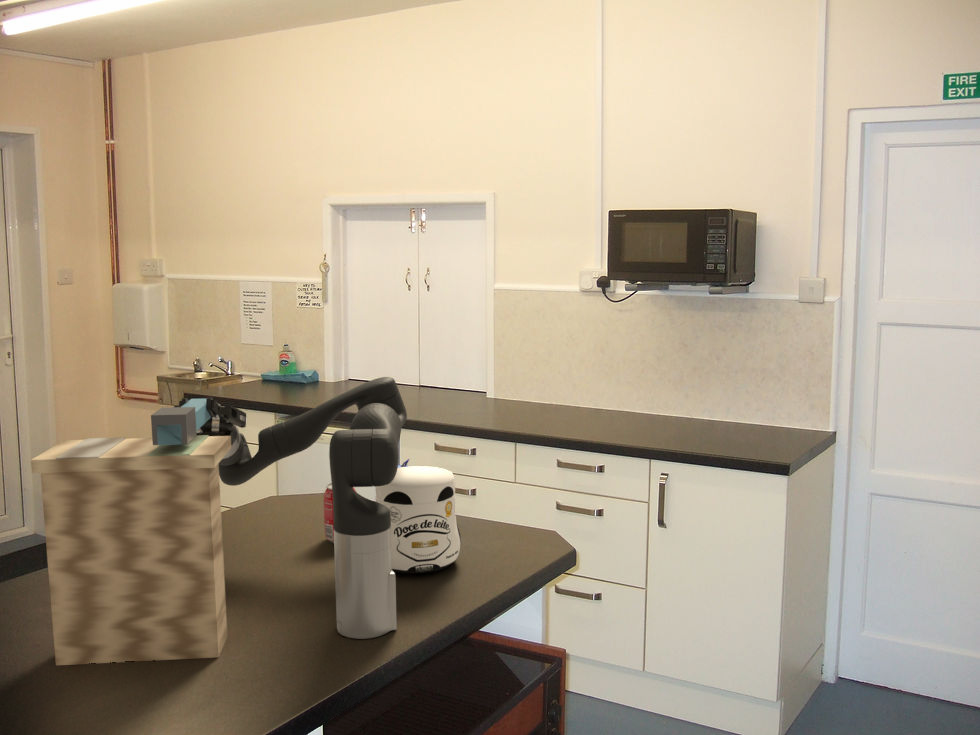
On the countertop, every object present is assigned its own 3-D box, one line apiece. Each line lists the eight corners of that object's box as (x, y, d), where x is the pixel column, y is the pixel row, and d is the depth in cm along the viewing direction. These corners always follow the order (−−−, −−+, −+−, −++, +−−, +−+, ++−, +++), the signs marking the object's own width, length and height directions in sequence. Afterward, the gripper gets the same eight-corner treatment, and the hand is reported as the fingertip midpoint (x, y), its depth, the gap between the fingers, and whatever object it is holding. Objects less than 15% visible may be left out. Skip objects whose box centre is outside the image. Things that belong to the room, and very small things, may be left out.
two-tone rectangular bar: (217, 415, 154) (216, 389, 153) (187, 444, 132) (185, 414, 131) (188, 416, 153) (186, 390, 153) (152, 445, 132) (150, 415, 131)
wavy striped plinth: (239, 622, 149) (230, 434, 144) (224, 658, 136) (213, 453, 132) (78, 630, 146) (64, 439, 142) (47, 667, 134) (30, 458, 129)
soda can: (363, 535, 193) (362, 482, 191) (349, 546, 186) (348, 490, 184) (333, 533, 194) (332, 479, 193) (319, 543, 188) (317, 488, 186)
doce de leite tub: (420, 588, 163) (418, 493, 161) (354, 567, 174) (351, 478, 171) (478, 560, 177) (477, 473, 175) (413, 543, 187) (412, 460, 185)
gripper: (254, 452, 164) (237, 423, 148) (175, 454, 162) (150, 425, 146) (256, 414, 167) (240, 381, 151) (178, 416, 165) (154, 383, 149)
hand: (195, 403), depth 149 cm, fingers closed on two-tone rectangular bar, 3 cm apart
